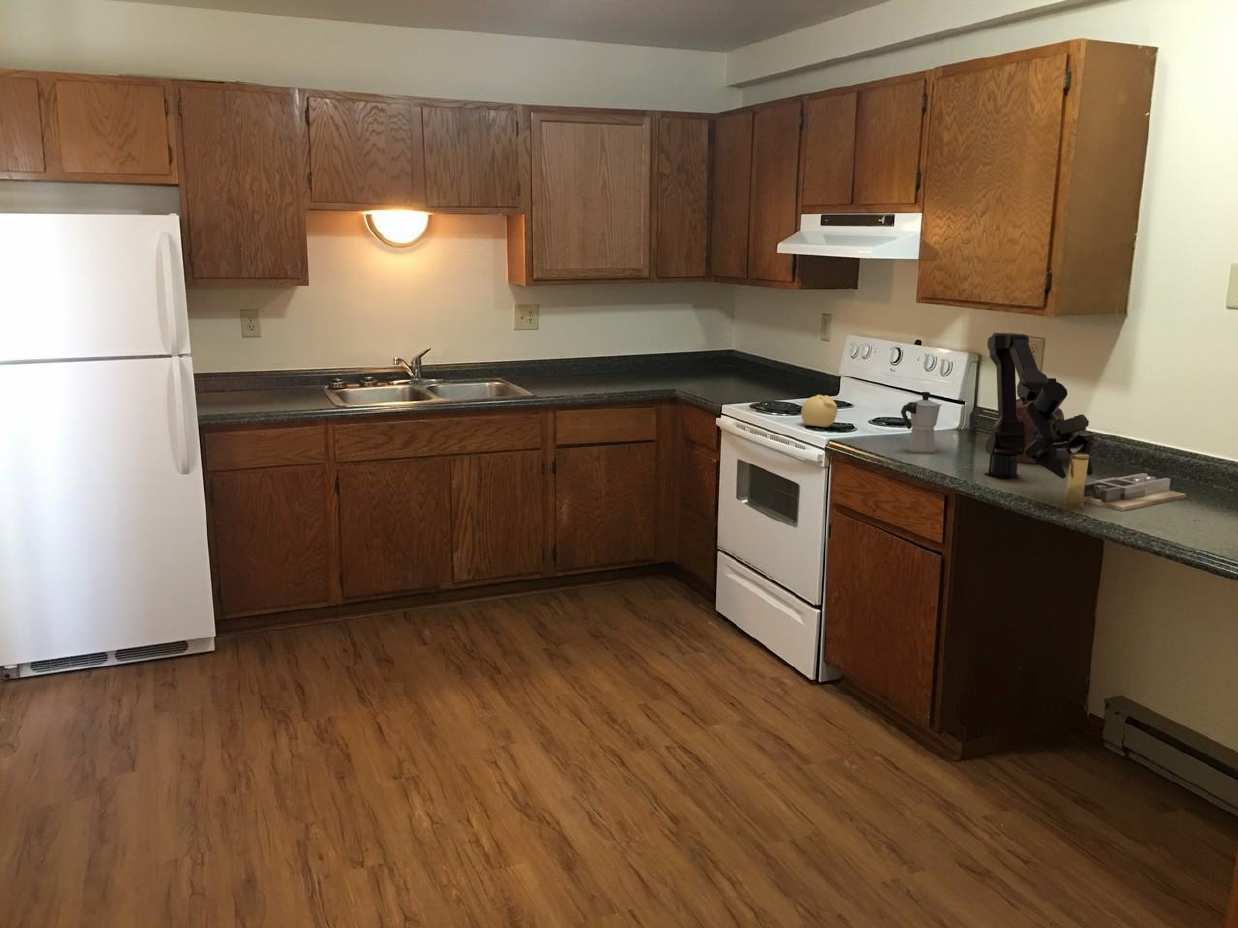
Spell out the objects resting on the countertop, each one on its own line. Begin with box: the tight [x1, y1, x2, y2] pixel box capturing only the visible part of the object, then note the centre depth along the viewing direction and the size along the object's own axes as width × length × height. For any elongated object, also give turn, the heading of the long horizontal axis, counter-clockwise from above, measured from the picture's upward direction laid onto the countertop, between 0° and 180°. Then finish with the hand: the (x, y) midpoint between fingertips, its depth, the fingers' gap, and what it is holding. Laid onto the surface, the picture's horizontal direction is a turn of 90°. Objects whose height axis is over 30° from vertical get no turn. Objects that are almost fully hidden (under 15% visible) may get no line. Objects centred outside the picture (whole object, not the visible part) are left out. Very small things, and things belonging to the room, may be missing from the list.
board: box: [1061, 489, 1187, 512], centre depth 252 cm, size 16×27×1 cm, turn 122°
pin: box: [1063, 452, 1089, 510], centre depth 240 cm, size 4×4×13 cm
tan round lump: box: [800, 394, 838, 428], centre depth 340 cm, size 12×12×11 cm
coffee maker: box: [900, 391, 942, 455], centre depth 301 cm, size 15×9×18 cm, turn 113°
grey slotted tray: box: [1084, 472, 1171, 503], centre depth 252 cm, size 8×27×3 cm, turn 121°
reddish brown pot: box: [997, 398, 1065, 464], centre depth 294 cm, size 18×20×18 cm
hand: (1077, 475), depth 240 cm, fingers open, 9 cm apart
